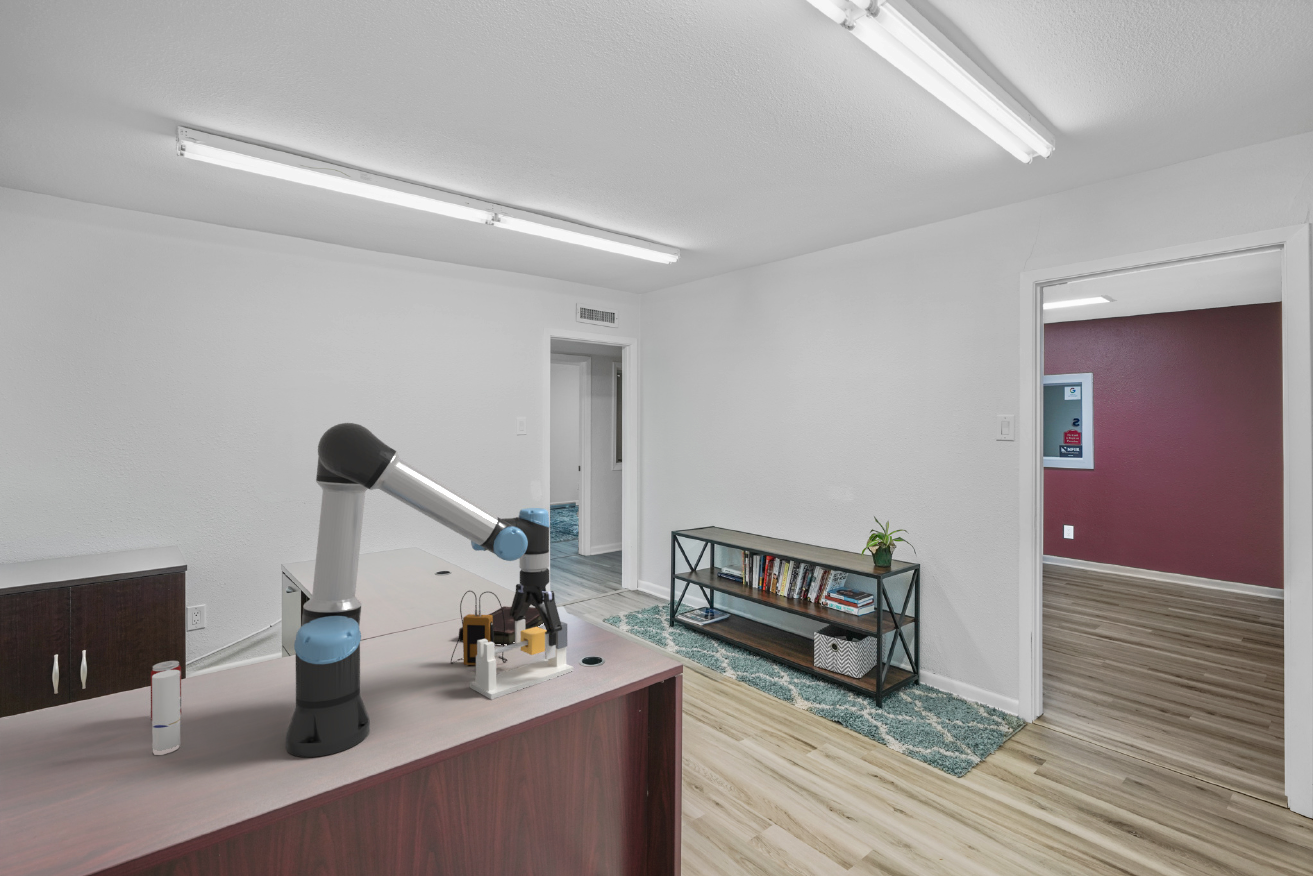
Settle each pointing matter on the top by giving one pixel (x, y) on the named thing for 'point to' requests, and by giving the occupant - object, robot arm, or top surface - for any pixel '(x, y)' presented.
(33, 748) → the top surface
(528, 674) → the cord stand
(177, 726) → the tube
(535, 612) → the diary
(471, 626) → the multimeter
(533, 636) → the cube with square hole
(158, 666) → the soda can
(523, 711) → the top surface
